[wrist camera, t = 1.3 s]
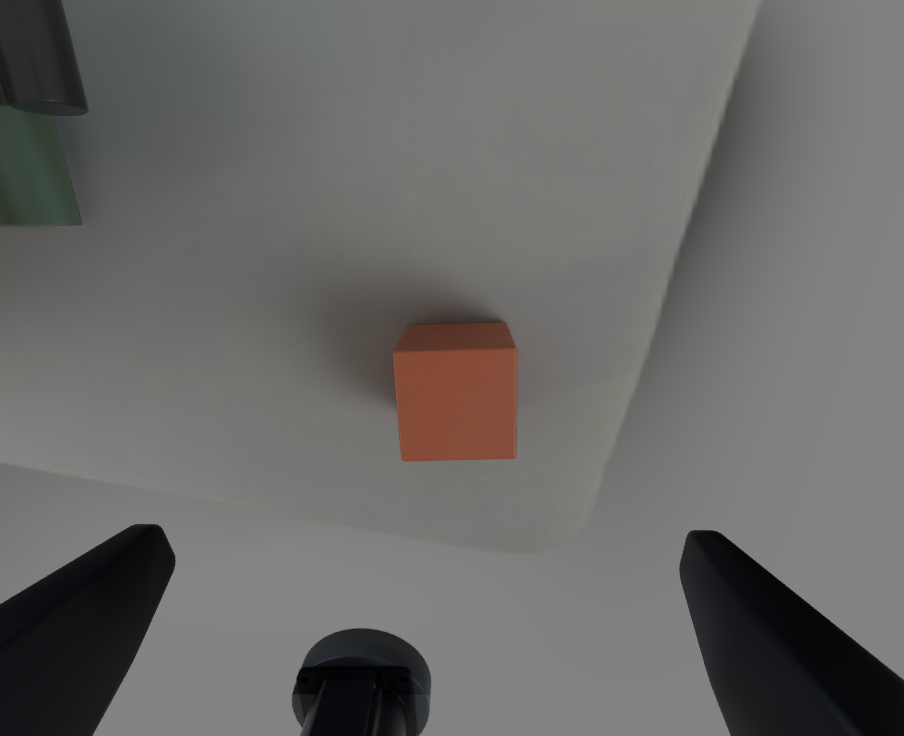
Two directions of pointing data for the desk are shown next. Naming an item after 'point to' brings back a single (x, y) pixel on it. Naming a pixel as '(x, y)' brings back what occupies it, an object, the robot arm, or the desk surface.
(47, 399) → the desk surface
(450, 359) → the block
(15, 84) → the drawer
